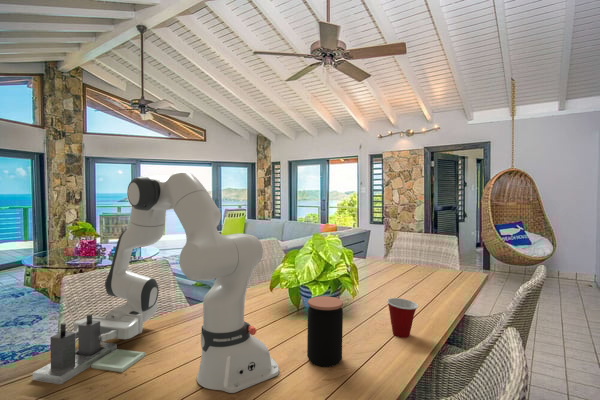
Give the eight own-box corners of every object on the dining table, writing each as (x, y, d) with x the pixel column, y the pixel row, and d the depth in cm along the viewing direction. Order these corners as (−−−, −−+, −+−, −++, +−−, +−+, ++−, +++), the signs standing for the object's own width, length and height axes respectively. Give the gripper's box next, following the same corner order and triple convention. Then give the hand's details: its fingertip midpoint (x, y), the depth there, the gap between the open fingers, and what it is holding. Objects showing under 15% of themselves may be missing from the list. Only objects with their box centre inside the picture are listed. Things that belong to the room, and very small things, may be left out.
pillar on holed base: (92, 348, 112) (92, 305, 112) (116, 351, 110) (116, 307, 110) (32, 381, 93) (32, 329, 92) (60, 386, 91) (60, 332, 91)
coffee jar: (339, 351, 112) (340, 296, 112) (344, 368, 102) (345, 307, 101) (306, 351, 112) (306, 296, 112) (308, 368, 101) (308, 307, 101)
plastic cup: (419, 342, 120) (420, 307, 120) (387, 339, 122) (387, 305, 122) (415, 330, 131) (416, 298, 130) (385, 327, 133) (386, 296, 132)
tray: (116, 353, 109) (116, 348, 109) (145, 357, 107) (145, 352, 107) (91, 369, 99) (91, 364, 99) (122, 373, 97) (122, 368, 97)
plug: (89, 355, 108) (89, 312, 108) (100, 356, 107) (100, 313, 107) (78, 361, 104) (78, 316, 104) (89, 363, 103) (89, 318, 103)
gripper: (93, 308, 120) (57, 323, 107) (146, 313, 116) (116, 330, 102) (93, 327, 120) (58, 344, 107) (146, 332, 116) (116, 351, 102)
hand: (86, 337), depth 104 cm, fingers open, 8 cm apart
